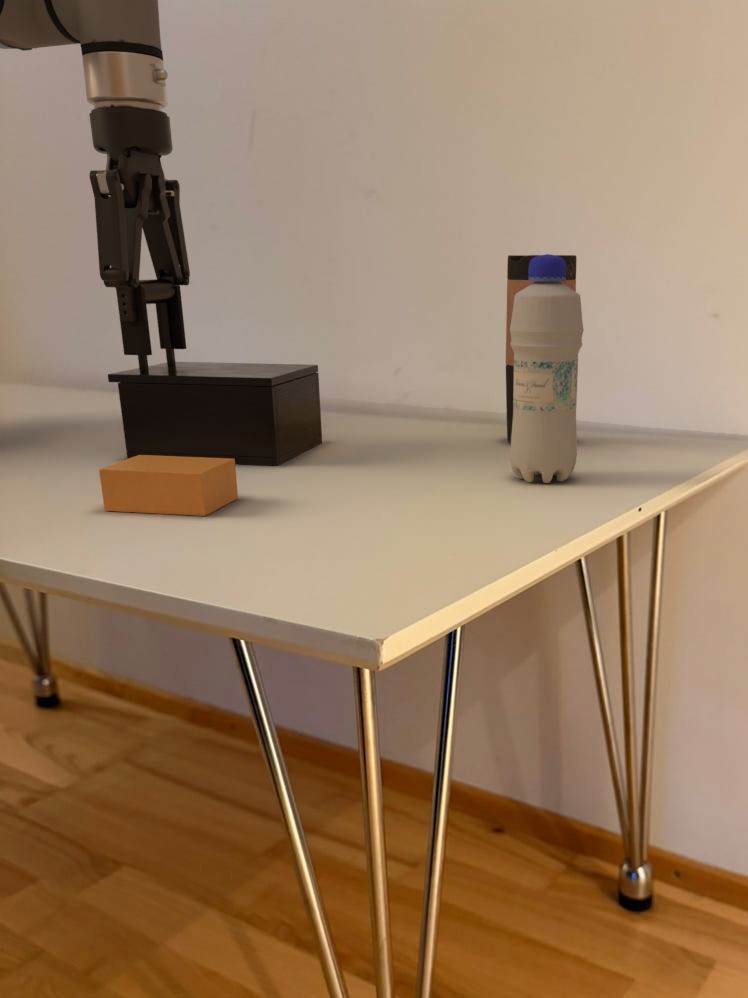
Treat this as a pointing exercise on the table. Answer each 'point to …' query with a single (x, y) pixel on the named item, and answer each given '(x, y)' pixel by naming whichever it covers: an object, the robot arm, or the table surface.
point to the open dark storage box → (222, 420)
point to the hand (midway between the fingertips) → (156, 351)
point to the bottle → (545, 372)
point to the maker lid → (201, 371)
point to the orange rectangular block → (169, 485)
